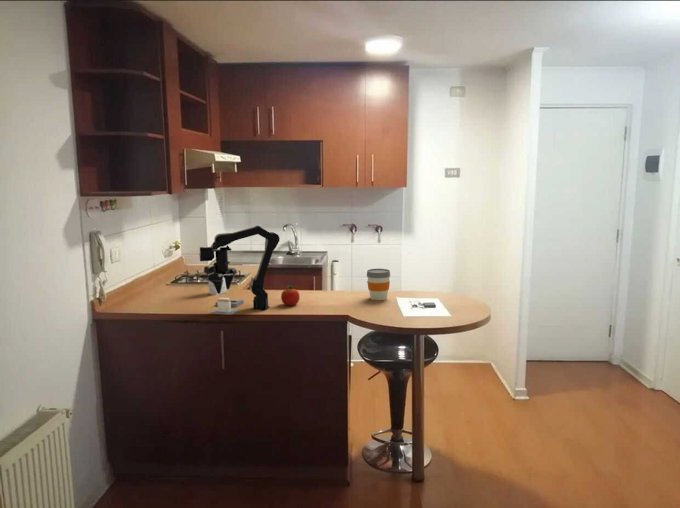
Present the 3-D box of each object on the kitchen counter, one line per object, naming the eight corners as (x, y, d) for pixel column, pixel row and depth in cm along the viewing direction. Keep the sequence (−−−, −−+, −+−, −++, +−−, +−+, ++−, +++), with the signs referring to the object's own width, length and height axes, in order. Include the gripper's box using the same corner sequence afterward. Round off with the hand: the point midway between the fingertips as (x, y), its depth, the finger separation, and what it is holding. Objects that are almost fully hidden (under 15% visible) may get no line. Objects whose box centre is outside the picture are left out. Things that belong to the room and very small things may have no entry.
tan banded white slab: (231, 310, 248) (230, 298, 247) (229, 312, 246) (228, 299, 245) (220, 310, 249) (219, 297, 248) (218, 311, 248) (217, 298, 246)
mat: (239, 310, 250) (239, 309, 250) (232, 315, 242) (232, 314, 242) (217, 309, 253) (217, 308, 253) (209, 313, 246) (209, 312, 245)
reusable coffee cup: (363, 299, 268) (362, 272, 265) (372, 294, 279) (372, 267, 276) (384, 302, 262) (384, 273, 260) (393, 296, 273) (393, 269, 271)
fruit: (283, 307, 254) (282, 288, 253) (280, 303, 263) (279, 284, 262) (301, 306, 257) (300, 287, 255) (298, 301, 266) (297, 283, 264)
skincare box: (219, 291, 293) (217, 265, 291) (227, 292, 290) (226, 265, 287) (208, 294, 286) (206, 267, 284) (217, 295, 283) (215, 268, 280)
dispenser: (243, 303, 264) (243, 299, 263) (236, 307, 256) (236, 303, 255) (223, 302, 267) (222, 298, 266) (215, 306, 259) (215, 301, 259)
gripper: (216, 256, 255) (217, 286, 257) (196, 262, 237) (198, 295, 239) (236, 257, 252) (237, 287, 254) (218, 263, 234) (219, 296, 236)
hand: (223, 291), depth 246 cm, fingers open, 9 cm apart
